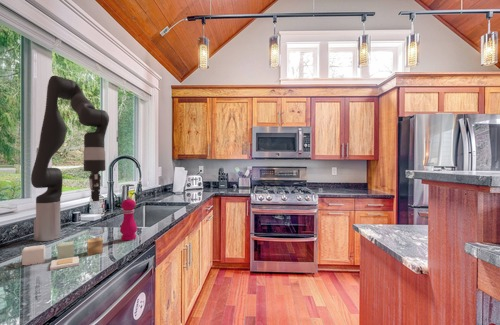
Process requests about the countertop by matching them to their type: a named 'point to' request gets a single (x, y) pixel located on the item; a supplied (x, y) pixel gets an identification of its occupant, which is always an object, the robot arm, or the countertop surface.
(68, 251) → the sage block
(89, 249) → the maple block
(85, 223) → the countertop surface
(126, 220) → the pepper mill
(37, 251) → the base block
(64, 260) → the tile
